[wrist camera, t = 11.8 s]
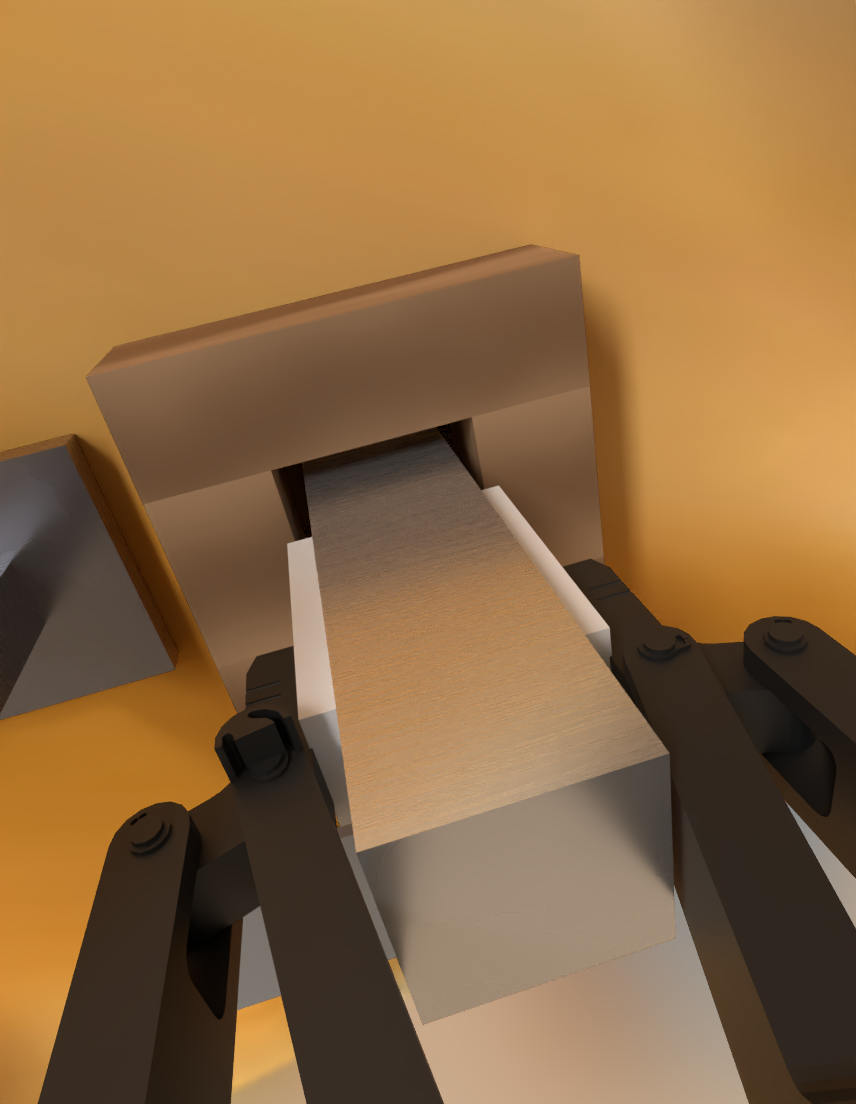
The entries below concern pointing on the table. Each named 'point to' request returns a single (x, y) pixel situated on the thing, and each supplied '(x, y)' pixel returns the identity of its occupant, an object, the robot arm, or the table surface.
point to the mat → (255, 949)
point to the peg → (479, 738)
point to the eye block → (352, 421)
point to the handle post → (68, 586)
